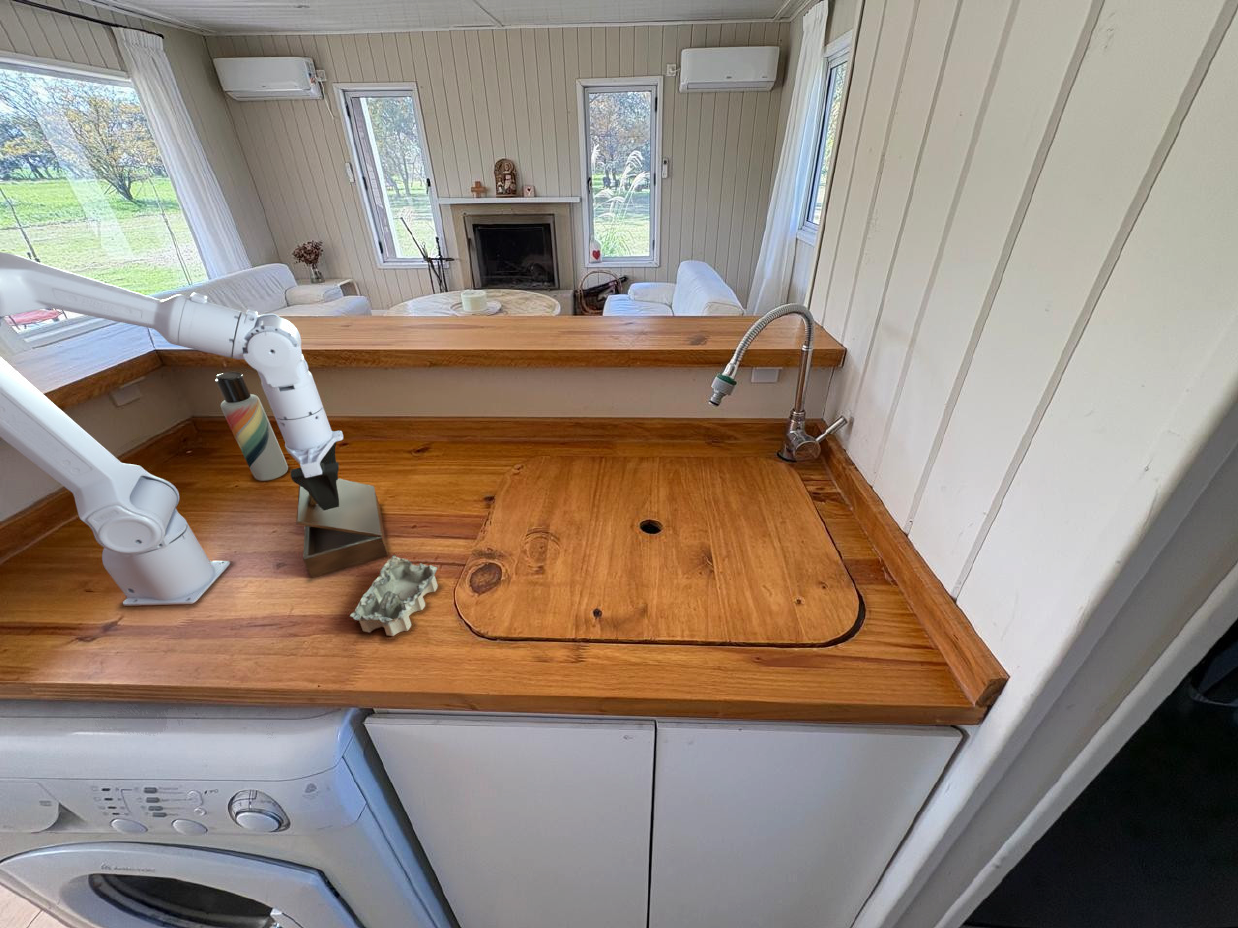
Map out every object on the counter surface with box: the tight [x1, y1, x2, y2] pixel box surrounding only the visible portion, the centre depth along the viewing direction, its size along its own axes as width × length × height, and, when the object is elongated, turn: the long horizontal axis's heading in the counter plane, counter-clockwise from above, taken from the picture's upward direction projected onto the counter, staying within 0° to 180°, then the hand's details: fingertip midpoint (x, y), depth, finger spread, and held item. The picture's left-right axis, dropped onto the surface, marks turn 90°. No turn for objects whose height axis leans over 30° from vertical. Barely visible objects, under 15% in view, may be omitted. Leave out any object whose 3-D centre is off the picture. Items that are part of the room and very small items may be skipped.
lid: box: [295, 478, 382, 537], centre depth 74 cm, size 11×14×4 cm
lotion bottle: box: [215, 371, 289, 482], centre depth 89 cm, size 6×6×20 cm
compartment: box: [302, 492, 389, 579], centre depth 77 cm, size 10×14×4 cm
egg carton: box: [349, 554, 439, 637], centre depth 66 cm, size 11×8×4 cm
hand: (330, 493), depth 74 cm, fingers open, 7 cm apart
